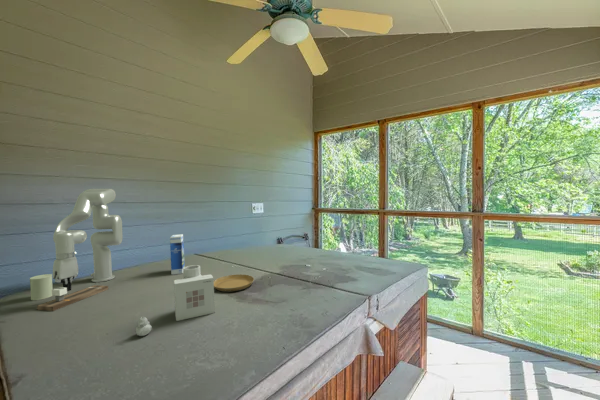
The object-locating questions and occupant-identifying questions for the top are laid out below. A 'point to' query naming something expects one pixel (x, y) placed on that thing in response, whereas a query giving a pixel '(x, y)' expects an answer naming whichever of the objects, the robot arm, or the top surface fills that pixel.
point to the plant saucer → (233, 282)
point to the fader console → (72, 298)
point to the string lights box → (177, 254)
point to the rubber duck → (143, 327)
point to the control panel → (193, 294)
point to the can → (41, 286)
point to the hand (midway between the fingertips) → (67, 290)
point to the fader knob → (59, 293)
